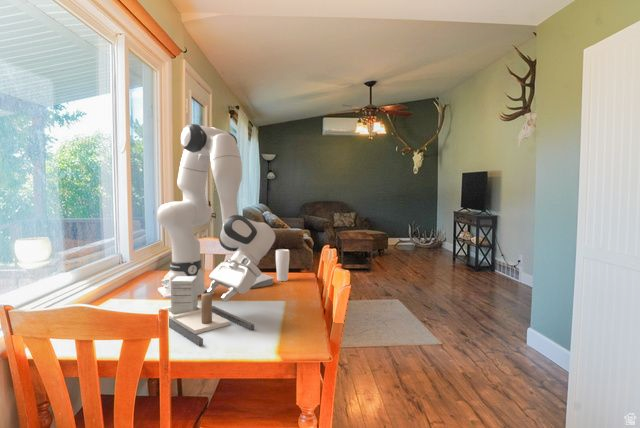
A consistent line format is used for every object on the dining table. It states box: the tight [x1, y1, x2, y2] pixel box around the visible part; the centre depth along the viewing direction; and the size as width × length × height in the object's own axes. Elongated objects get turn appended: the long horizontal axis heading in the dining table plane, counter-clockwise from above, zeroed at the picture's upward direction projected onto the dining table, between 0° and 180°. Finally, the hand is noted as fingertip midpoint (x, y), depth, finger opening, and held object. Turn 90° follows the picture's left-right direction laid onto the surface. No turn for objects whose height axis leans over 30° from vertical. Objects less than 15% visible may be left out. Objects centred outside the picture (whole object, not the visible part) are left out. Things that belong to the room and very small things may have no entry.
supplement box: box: [170, 276, 199, 315], centre depth 130 cm, size 7×7×13 cm
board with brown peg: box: [160, 292, 231, 335], centre depth 125 cm, size 26×12×10 cm, turn 44°
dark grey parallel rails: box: [168, 305, 255, 347], centre depth 119 cm, size 26×18×2 cm
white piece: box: [275, 248, 290, 282], centre depth 182 cm, size 7×7×15 cm
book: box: [250, 273, 276, 289], centre depth 177 cm, size 15×23×4 cm, turn 40°
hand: (215, 297), depth 121 cm, fingers open, 8 cm apart
